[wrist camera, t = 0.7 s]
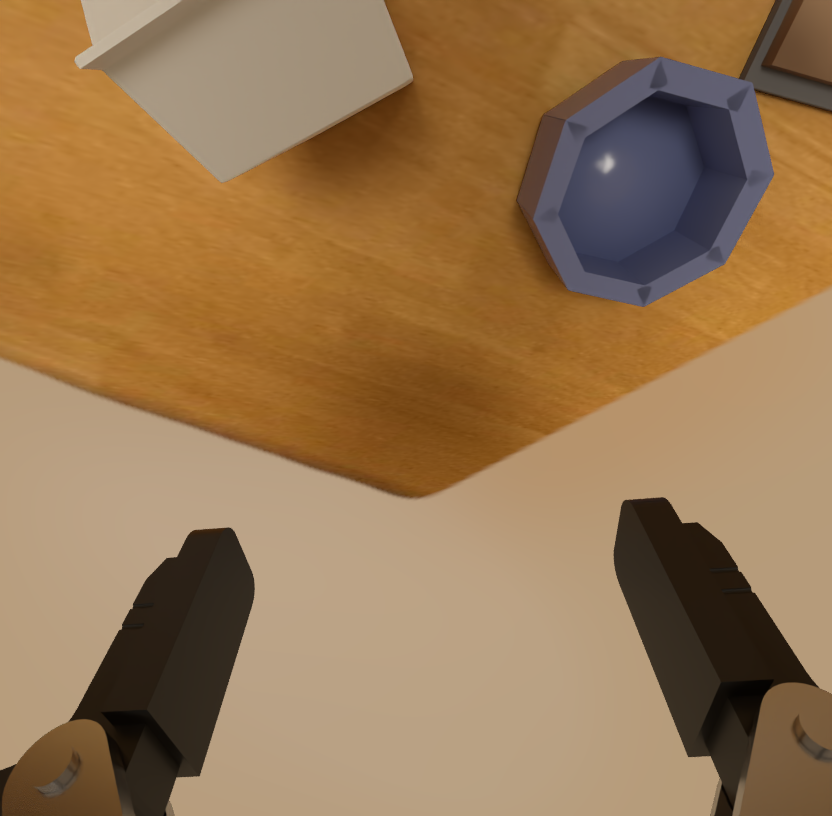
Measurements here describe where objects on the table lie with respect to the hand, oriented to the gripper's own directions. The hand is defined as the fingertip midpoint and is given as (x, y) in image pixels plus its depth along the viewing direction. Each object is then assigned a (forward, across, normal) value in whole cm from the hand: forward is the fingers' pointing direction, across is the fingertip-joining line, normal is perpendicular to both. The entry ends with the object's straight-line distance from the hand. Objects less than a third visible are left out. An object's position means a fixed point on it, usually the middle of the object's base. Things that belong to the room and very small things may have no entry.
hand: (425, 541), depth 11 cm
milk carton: (+26, +4, -10) cm, 28 cm away
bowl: (+26, -12, -2) cm, 29 cm away
